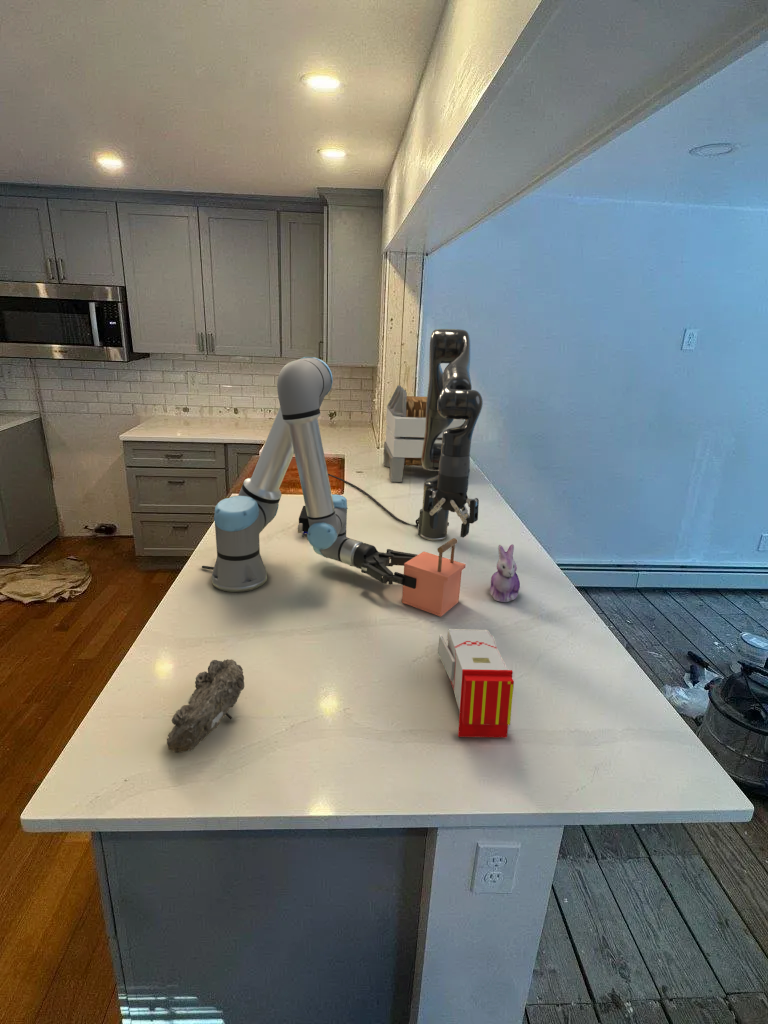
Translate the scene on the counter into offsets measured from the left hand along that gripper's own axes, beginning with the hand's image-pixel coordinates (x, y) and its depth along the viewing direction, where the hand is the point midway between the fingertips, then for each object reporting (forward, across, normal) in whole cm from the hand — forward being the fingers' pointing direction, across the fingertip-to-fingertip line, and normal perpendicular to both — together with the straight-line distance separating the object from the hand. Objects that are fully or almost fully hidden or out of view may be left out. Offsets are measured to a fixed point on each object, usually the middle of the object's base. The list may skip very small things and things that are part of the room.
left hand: (425, 576), depth 153 cm
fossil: (-8, +66, -7) cm, 66 cm away
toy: (+28, +28, -7) cm, 40 cm away
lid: (+2, 0, +4) cm, 4 cm away
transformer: (-66, -109, -7) cm, 127 cm away
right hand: (+6, 0, +14) cm, 15 cm away
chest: (+2, 0, -7) cm, 7 cm away
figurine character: (-56, -17, -7) cm, 59 cm away
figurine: (+17, -16, -7) cm, 24 cm away
